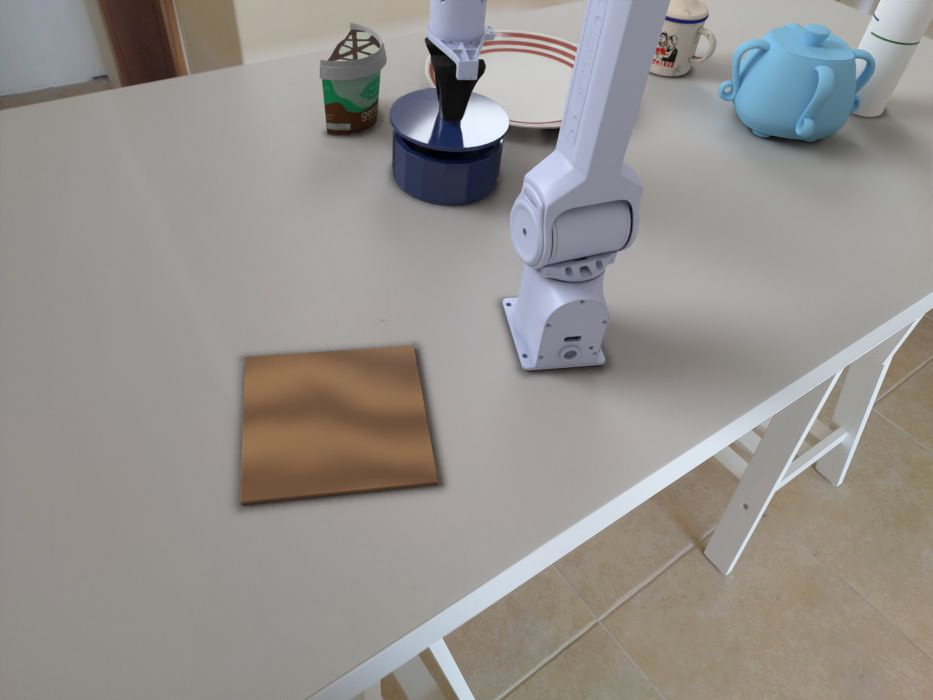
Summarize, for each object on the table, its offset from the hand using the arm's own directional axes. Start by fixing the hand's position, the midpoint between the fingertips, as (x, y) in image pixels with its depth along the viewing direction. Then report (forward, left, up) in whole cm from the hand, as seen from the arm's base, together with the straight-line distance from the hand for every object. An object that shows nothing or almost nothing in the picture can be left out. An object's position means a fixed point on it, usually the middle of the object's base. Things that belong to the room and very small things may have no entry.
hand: (450, 111), depth 83 cm
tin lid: (0, 0, -1) cm, 1 cm away
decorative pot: (+11, -50, -8) cm, 52 cm away
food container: (+13, +9, -8) cm, 18 cm away
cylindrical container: (+16, -66, -8) cm, 68 cm away
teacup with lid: (+28, -40, -8) cm, 50 cm away
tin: (0, 0, -8) cm, 8 cm away
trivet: (-36, +15, -8) cm, 40 cm away
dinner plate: (+20, -14, -8) cm, 26 cm away
